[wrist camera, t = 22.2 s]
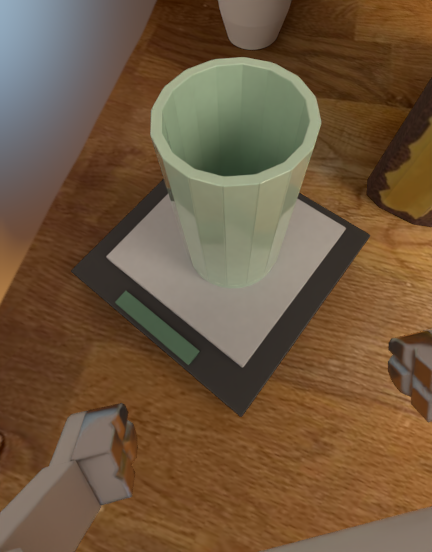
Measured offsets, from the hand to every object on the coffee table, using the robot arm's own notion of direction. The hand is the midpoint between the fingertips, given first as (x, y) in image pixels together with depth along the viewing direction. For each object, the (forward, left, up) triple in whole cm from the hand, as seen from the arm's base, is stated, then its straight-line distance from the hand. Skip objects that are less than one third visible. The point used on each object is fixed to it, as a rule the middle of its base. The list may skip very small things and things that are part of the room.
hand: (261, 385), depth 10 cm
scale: (+3, +8, -11) cm, 14 cm away
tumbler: (+4, +8, -8) cm, 12 cm away
